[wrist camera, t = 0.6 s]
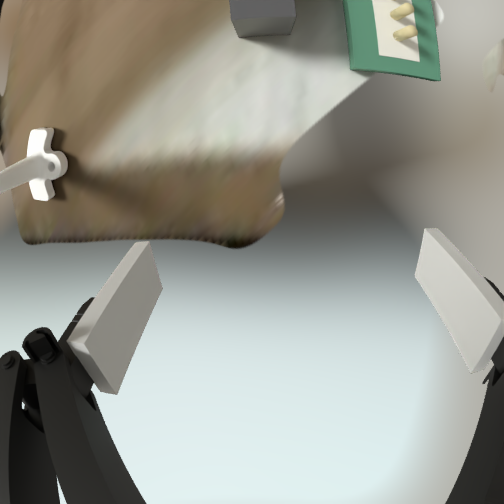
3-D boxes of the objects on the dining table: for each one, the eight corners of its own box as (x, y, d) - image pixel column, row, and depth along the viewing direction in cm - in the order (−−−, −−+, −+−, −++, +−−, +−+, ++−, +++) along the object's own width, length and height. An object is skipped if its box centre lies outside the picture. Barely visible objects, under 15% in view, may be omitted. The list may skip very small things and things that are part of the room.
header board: (336, -36, 21) (347, -55, 16) (419, -19, 20) (439, -32, 15) (350, 69, 29) (366, 64, 23) (433, 81, 28) (458, 80, 22)
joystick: (35, 127, 33) (-64, 164, 15) (70, 127, 33) (-38, 163, 15) (37, 193, 38) (-48, 252, 20) (70, 198, 38) (-19, 265, 21)
